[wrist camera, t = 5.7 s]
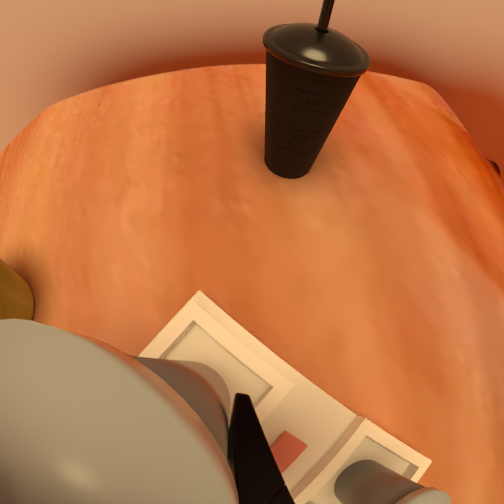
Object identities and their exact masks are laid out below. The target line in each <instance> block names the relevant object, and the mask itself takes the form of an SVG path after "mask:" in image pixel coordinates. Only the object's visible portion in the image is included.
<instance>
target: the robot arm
mask: <svg viewBox="0 0 504 504" xmlns="http://www.w3.org/2000/svg"><path fill="white" fill-rule="evenodd" d="M227 462H228V465H229V467H230V469H231V471H232V474H233V477H234V481H235V484H236V488H237V491H238V500H239V504H295V502H294V500H293V498H292V496H291V494H290V492H289V490H288V487H287V486H286V485H285V481H284V479H283V477H282V474H281V472H280V470H279V467H278V465H277V463H276V460H275V458H274V456H273V453H272V451H271V448H270V446H269V444H268V441H267V439H266V436H265V434H264V431H263V429H262V426H261V424H260V421H259V419H258V416H257V414H256V411H255V409H254V406H253V404H252V401H251V398H250V396H249V395H248V394H244V393H236V394H235V397H234V402H233V407H232V413H231V419H230V426H229V433H228V451H227Z"/></svg>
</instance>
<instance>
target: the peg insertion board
mask: <svg viewBox="0 0 504 504" xmlns="http://www.w3.org/2000/svg"><path fill="white" fill-rule="evenodd" d="M138 357H147V358H157V359H169V360H182V361H194V362H198V363H202V364H204V365H206V366H208V367H210V368H212V369H213V370H214V371H216V372H217V373H218V374H219V375H220V376H221V378H222V379H223V380H224V382H225V384H226V386H227V388H228V391H229V394H230V416H229V426H230V419H231V413H232V407H233V402H234V397H235V394H236V393H244V394H248V395H249V396H250V398H251V401H252V404H253V406H254V409H255V411H256V414H257V416H258V419H259V421H260V424H261V426H262V429H263V431H264V434H265V436H266V439H267V441H268V444H269V446H270V448H271V451H272V453H273V456H274V458H275V460H276V463H277V465H278V467H279V470H280V472H281V474H282V477H283V479H284V481H285V485H286V486H287V487H288V490H289V492H290V494H291V496H292V498H293V500H294V502H295V504H451V498H450V496H449V495H448V494H447V493H446V492H443V491H441V490H438V489H436V488H433V487H424V486H422V485H420V484H418V483H417V482H418V480H419V479H420V478H421V476H422V475H423V474H424V472H425V471H426V469H427V468H428V467H429V465H430V464H431V462H432V461H431V460H430V459H428V458H426V457H425V456H423V455H421V454H420V453H418V452H417V451H415V450H413V449H412V448H410V447H409V446H407V445H405V444H404V443H402V442H401V441H399V440H398V439H396V438H395V437H393V436H392V435H390V434H388V433H387V432H385V431H384V430H382V429H381V428H379V427H378V426H377V425H375V424H374V423H372V422H371V421H369V420H368V419H366V418H364V417H361V416H358V415H356V414H355V413H353V412H352V411H351V410H349V409H348V408H346V407H345V406H344V405H342V404H341V403H339V402H338V401H337V400H335V399H334V398H332V397H331V396H330V395H328V394H327V393H326V392H324V391H323V390H322V389H320V388H319V387H317V386H316V385H315V384H313V383H312V382H311V381H309V380H308V379H307V378H306V377H304V376H303V375H302V374H300V373H299V372H298V371H296V370H295V369H294V368H293V367H291V366H290V365H289V364H287V363H286V362H285V361H284V360H282V359H281V358H280V357H278V356H277V355H276V354H275V353H273V352H272V351H271V350H270V349H268V348H267V347H266V346H265V345H264V344H262V343H261V342H260V341H259V340H257V339H256V338H255V337H254V336H253V335H251V334H250V333H249V332H248V331H247V330H245V329H244V328H243V327H242V326H241V325H239V324H238V323H237V322H236V321H235V320H233V319H232V318H231V317H230V316H229V315H228V314H226V313H225V312H224V311H223V310H222V309H221V308H219V307H218V306H217V305H216V304H215V303H214V302H213V301H211V300H210V299H209V298H208V297H207V296H206V295H205V294H204V293H202V292H201V291H200V290H199V291H198V292H197V293H196V294H195V295H194V296H193V297H192V298H191V299H190V300H189V301H188V302H187V303H186V305H185V306H184V307H183V308H182V309H181V310H180V311H179V312H178V313H177V314H176V315H175V316H174V317H173V319H172V320H171V321H170V322H169V323H168V324H167V325H166V326H165V327H164V328H163V329H162V330H161V331H160V333H159V334H158V335H157V336H156V337H155V338H154V339H153V340H152V341H151V342H150V343H149V345H148V346H147V347H146V348H145V349H144V350H143V351H142V352H141V353H140V354H139V355H138Z"/></svg>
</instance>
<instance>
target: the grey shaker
mask: <svg viewBox="0 0 504 504" xmlns="http://www.w3.org/2000/svg"><path fill="white" fill-rule="evenodd" d="M229 416H230V394H229V391H228V388H227V386H226V384H225V382H224V380H223V379H222V378H221V376H220V375H219V374H218V373H217V372H216V371H214V370H213V369H212V368H210V367H208V366H206V365H204V364H202V363H198V362H194V361H182V360H169V359H157V358H147V357H138V356H129V355H128V354H126V353H124V352H122V351H120V350H118V349H116V348H114V347H112V346H111V345H109V344H106V343H104V342H101V341H98V340H96V339H93V338H91V337H87V336H84V335H80V334H76V333H73V332H69V331H66V330H62V329H59V328H55V327H52V326H49V325H45V324H42V323H38V322H35V321H32V320H22V319H4V320H0V504H239V500H238V491H237V488H236V484H235V481H234V477H233V474H232V471H231V469H230V467H229V465H228V462H227V451H228V433H229Z"/></svg>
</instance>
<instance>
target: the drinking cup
mask: <svg viewBox="0 0 504 504" xmlns="http://www.w3.org/2000/svg"><path fill="white" fill-rule="evenodd" d="M334 1H335V0H324V1H323V5H322V9H321V14H320V18H319V22H318V24H312V23H294V24H283V25H278V26H274V27H271V28H269V29H268V30H267V31H266V32H265V33H264V35H263V44H264V47H265V48H266V110H265V163H266V165H267V167H268V168H269V169H270V170H271V171H272V172H273V173H275V174H277V175H279V176H281V177H284V178H299V177H302V176H304V175H305V174H307V173H308V171H309V170H310V168H311V166H312V165H313V163H314V161H315V159H316V157H317V155H318V154H319V152H320V150H321V148H322V146H323V144H324V143H325V141H326V139H327V137H328V135H329V133H330V132H331V130H332V128H333V126H334V124H335V122H336V121H337V119H338V117H339V115H340V113H341V111H342V109H343V108H344V106H345V104H346V102H347V100H348V98H349V96H350V95H351V93H352V91H353V89H354V87H355V85H356V83H357V81H358V80H359V78H360V76H361V75H362V74H364V73H365V72H366V71H367V70H368V68H369V66H370V58H369V56H368V54H367V52H366V51H365V50H364V49H363V48H362V47H361V46H359V45H358V44H357V43H355V42H354V41H352V40H351V39H350V38H348V37H347V36H345V35H344V34H342V33H340V32H338V31H336V30H334V29H332V28H329V27H328V24H329V20H330V16H331V13H332V9H333V5H334Z"/></svg>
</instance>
